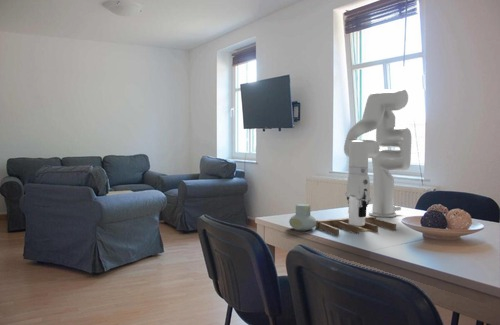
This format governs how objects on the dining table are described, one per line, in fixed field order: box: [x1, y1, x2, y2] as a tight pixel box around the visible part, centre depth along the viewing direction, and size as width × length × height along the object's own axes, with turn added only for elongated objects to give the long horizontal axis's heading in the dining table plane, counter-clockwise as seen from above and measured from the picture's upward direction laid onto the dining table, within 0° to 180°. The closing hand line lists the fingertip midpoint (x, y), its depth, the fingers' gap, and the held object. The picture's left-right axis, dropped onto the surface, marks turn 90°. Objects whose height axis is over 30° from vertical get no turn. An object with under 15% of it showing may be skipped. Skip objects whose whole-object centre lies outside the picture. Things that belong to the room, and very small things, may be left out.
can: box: [348, 195, 365, 226], centre depth 164 cm, size 6×6×12 cm
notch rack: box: [314, 215, 397, 237], centre depth 165 cm, size 29×15×3 cm, turn 111°
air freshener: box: [288, 203, 317, 232], centre depth 163 cm, size 11×8×10 cm
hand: (357, 214), depth 164 cm, fingers closed on can, 6 cm apart
